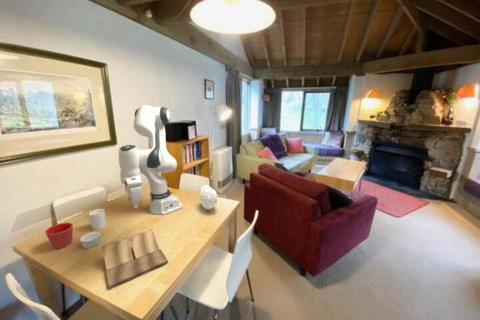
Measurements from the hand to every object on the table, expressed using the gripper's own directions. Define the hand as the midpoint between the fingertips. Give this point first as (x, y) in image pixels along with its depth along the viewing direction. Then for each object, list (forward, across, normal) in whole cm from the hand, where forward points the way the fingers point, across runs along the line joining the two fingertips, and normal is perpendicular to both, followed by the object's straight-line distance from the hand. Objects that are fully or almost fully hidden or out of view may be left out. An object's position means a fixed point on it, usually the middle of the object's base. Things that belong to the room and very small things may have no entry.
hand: (133, 204), depth 106 cm
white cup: (+23, -32, -14) cm, 42 cm away
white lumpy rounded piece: (+23, -13, +51) cm, 57 cm away
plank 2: (+20, +7, +2) cm, 22 cm away
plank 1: (+21, +7, -10) cm, 24 cm away
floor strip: (+24, +18, -4) cm, 30 cm away
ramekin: (+24, -16, -19) cm, 34 cm away
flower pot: (+24, -24, -31) cm, 46 cm away
